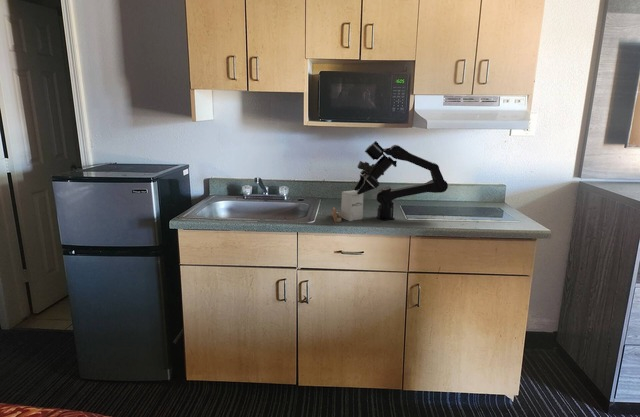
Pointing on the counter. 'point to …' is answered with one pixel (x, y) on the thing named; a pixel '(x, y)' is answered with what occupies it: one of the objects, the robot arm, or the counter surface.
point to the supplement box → (351, 205)
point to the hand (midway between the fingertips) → (356, 191)
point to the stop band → (336, 216)
